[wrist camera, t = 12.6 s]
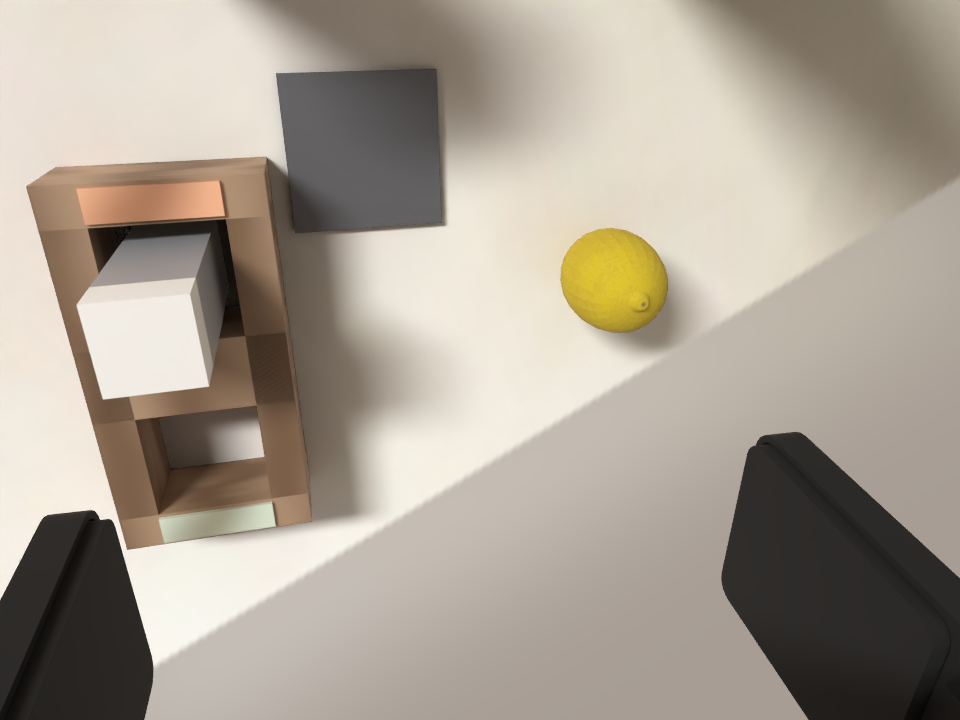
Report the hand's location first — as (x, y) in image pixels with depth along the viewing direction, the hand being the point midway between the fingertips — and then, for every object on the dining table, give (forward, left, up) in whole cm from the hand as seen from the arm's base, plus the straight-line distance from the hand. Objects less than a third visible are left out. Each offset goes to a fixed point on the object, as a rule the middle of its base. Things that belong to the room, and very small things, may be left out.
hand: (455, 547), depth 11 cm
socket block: (+8, +9, -32) cm, 34 cm away
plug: (+8, +4, -32) cm, 33 cm away
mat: (-2, -1, -32) cm, 32 cm away
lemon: (-15, +6, -32) cm, 36 cm away
